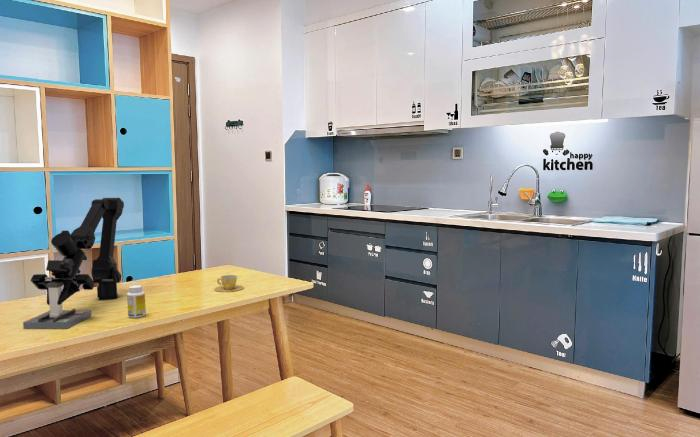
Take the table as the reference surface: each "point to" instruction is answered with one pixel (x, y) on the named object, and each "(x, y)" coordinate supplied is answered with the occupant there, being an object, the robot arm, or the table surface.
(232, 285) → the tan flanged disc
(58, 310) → the handle
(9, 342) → the table surface
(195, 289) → the table surface
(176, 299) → the table surface
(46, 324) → the box
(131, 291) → the supplement bottle
